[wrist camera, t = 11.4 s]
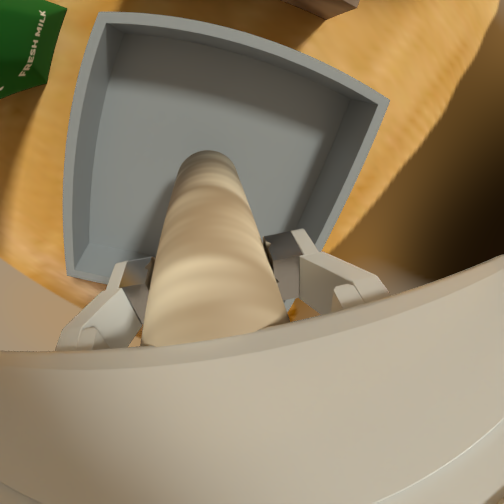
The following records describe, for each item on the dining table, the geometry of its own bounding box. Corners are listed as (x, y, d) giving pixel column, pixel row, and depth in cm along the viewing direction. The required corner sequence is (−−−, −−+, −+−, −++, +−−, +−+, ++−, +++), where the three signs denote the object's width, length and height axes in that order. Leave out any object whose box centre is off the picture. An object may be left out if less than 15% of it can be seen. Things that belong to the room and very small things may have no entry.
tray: (85, 242, 22) (67, 275, 18) (121, 26, 13) (99, 11, 9) (275, 277, 28) (287, 312, 24) (355, 94, 19) (390, 100, 15)
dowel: (184, 211, 18) (171, 416, 7) (171, 157, 16) (106, 343, 5) (241, 201, 19) (300, 397, 7) (233, 145, 16) (306, 312, 5)
